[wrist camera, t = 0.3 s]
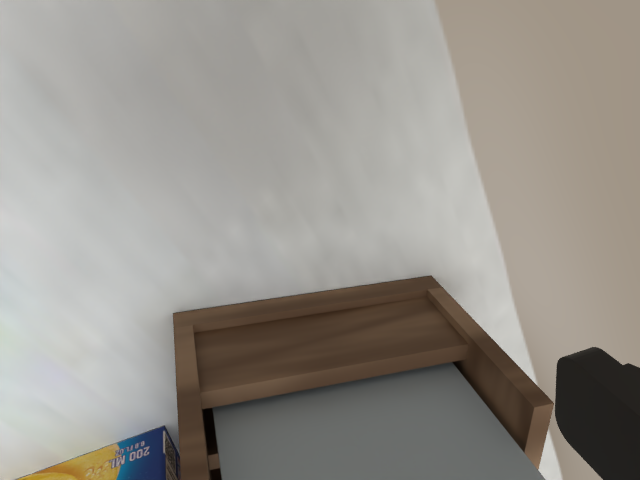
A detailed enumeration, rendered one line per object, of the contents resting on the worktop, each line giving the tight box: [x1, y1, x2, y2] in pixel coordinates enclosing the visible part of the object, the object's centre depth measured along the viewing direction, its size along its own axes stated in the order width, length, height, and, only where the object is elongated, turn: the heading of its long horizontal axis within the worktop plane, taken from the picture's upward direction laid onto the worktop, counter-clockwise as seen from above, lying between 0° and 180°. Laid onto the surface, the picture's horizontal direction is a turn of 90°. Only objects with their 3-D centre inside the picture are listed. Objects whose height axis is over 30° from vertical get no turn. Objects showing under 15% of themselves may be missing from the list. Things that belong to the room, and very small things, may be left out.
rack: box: [173, 276, 554, 480], centre depth 29 cm, size 12×16×12 cm
